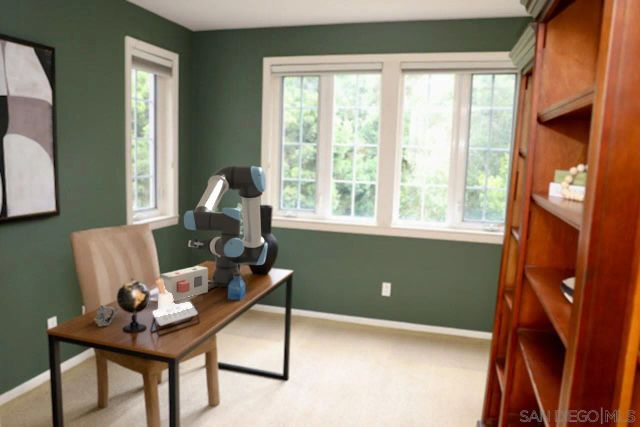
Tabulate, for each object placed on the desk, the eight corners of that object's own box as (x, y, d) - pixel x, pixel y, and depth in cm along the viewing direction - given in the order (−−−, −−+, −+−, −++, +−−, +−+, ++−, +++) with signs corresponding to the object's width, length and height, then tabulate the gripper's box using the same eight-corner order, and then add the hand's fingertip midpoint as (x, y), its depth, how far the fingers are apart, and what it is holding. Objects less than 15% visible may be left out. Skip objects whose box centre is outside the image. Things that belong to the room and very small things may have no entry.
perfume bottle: (240, 300, 216) (241, 275, 214) (228, 298, 217) (228, 274, 215) (245, 296, 222) (245, 272, 220) (233, 294, 223) (233, 270, 221)
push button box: (210, 285, 236) (210, 262, 234) (219, 288, 232) (220, 264, 230) (160, 299, 211) (160, 273, 210) (170, 303, 207) (170, 276, 206)
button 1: (193, 282, 225) (193, 274, 224) (201, 284, 222) (201, 276, 221) (187, 284, 221) (187, 276, 221) (194, 286, 218) (194, 278, 218)
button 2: (181, 288, 215) (181, 280, 214) (189, 291, 211) (189, 282, 211) (174, 290, 211) (174, 282, 211) (182, 293, 208) (182, 284, 208)
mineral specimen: (99, 334, 183) (123, 328, 183) (87, 327, 176) (112, 321, 176) (102, 312, 189) (125, 306, 188) (90, 304, 182) (114, 298, 182)
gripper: (201, 253, 187) (175, 249, 204) (229, 256, 195) (201, 253, 213) (204, 234, 188) (178, 233, 205) (231, 239, 196) (204, 237, 214)
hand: (190, 243), depth 209 cm, fingers closed
